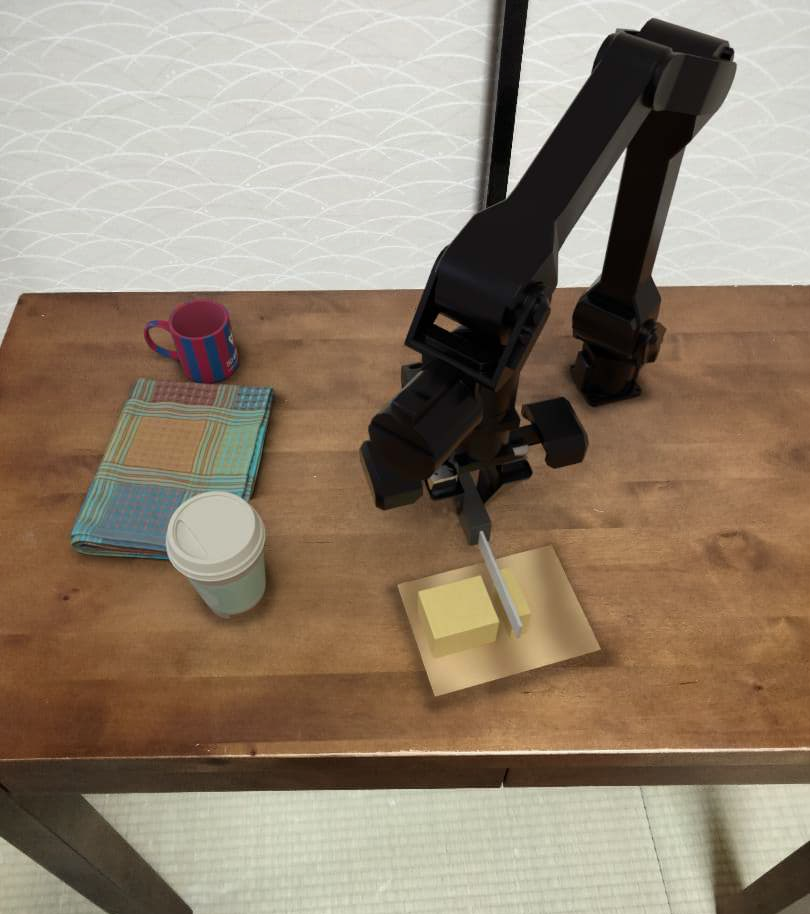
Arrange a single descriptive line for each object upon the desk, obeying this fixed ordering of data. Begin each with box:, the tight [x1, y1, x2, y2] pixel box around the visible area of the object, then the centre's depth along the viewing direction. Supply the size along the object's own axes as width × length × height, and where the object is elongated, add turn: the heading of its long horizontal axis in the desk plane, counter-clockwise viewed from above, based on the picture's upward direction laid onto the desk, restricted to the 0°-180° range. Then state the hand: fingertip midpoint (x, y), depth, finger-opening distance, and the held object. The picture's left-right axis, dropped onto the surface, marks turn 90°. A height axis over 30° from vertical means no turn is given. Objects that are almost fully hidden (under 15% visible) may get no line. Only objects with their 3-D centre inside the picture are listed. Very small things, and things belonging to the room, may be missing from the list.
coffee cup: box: [166, 491, 267, 620], centre depth 74 cm, size 9×8×12 cm
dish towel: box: [69, 376, 276, 561], centre depth 87 cm, size 17×23×2 cm
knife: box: [456, 472, 523, 638], centre depth 73 cm, size 2×17×3 cm, turn 17°
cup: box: [143, 298, 240, 384], centre depth 94 cm, size 7×10×7 cm
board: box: [396, 544, 602, 697], centre depth 77 cm, size 16×12×2 cm
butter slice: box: [492, 567, 531, 638], centre depth 75 cm, size 2×5×4 cm, turn 16°
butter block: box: [418, 575, 499, 658], centre depth 74 cm, size 6×5×4 cm
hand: (467, 508), depth 76 cm, fingers closed on knife, 2 cm apart
